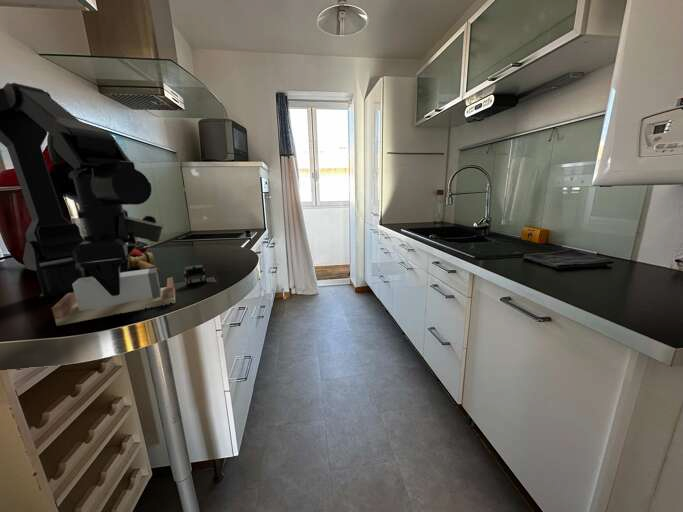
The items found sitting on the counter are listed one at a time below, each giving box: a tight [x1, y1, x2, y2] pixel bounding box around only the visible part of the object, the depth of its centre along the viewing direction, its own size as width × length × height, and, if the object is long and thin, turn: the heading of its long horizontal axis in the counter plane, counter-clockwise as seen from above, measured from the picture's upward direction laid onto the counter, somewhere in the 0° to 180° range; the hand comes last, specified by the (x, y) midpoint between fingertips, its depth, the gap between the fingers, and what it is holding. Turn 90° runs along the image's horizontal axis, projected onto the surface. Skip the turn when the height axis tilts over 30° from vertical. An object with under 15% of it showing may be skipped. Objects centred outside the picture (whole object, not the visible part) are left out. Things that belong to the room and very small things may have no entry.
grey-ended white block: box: [72, 268, 161, 311], centre depth 52 cm, size 12×4×5 cm, turn 121°
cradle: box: [51, 276, 176, 327], centre depth 53 cm, size 17×8×3 cm, turn 121°
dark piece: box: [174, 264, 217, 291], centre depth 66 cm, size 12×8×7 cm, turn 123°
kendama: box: [128, 248, 160, 274], centre depth 77 cm, size 8×6×18 cm
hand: (120, 287), depth 52 cm, fingers open, 9 cm apart
